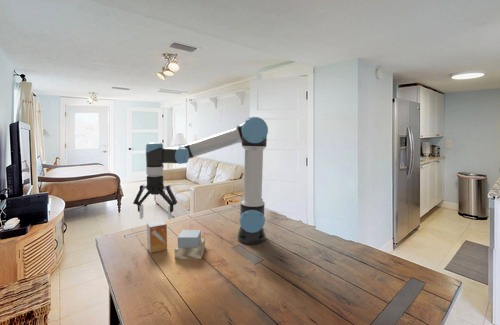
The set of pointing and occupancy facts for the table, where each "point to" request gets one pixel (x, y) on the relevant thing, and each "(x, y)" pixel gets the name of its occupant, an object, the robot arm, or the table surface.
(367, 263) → the table surface
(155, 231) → the small box
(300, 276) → the table surface
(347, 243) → the table surface
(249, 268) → the table surface
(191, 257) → the tower base
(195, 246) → the tower top
